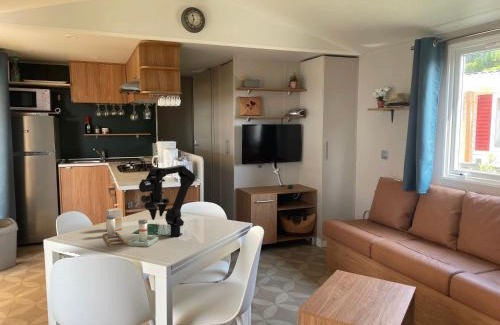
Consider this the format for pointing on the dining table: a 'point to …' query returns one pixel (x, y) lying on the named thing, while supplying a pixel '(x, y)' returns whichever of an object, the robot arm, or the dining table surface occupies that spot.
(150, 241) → the tray
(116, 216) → the supplement box
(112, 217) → the cylinder
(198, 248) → the dining table surface
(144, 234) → the ball
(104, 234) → the wooden fuse rack
